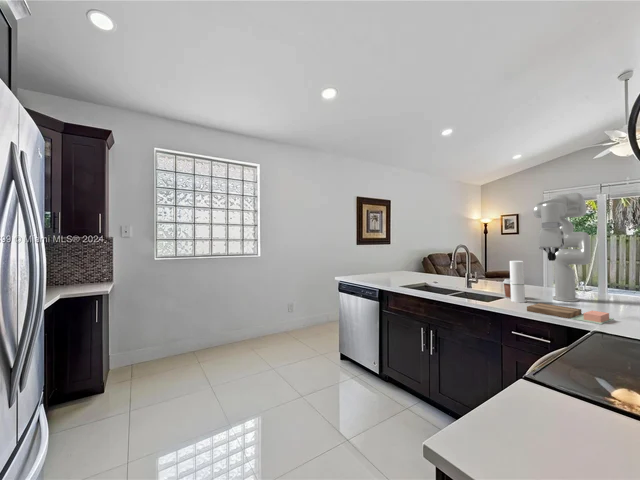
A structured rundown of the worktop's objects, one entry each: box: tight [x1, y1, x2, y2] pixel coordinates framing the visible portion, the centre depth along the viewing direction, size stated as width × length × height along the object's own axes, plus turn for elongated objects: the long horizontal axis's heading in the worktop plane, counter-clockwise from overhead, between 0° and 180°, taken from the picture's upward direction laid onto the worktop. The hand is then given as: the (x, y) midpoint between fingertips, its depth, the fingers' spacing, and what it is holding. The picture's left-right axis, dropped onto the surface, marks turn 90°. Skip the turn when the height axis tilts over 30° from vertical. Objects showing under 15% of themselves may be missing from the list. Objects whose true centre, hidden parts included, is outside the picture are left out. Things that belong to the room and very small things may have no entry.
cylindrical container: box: [509, 260, 526, 304], centre depth 175 cm, size 7×7×25 cm
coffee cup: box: [502, 278, 511, 300], centre depth 185 cm, size 9×9×12 cm
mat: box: [569, 313, 615, 325], centre depth 134 cm, size 15×11×1 cm
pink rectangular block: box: [583, 310, 610, 323], centre depth 132 cm, size 9×6×3 cm, turn 117°
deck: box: [526, 302, 583, 320], centre depth 147 cm, size 14×18×2 cm
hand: (551, 260), depth 149 cm, fingers closed
